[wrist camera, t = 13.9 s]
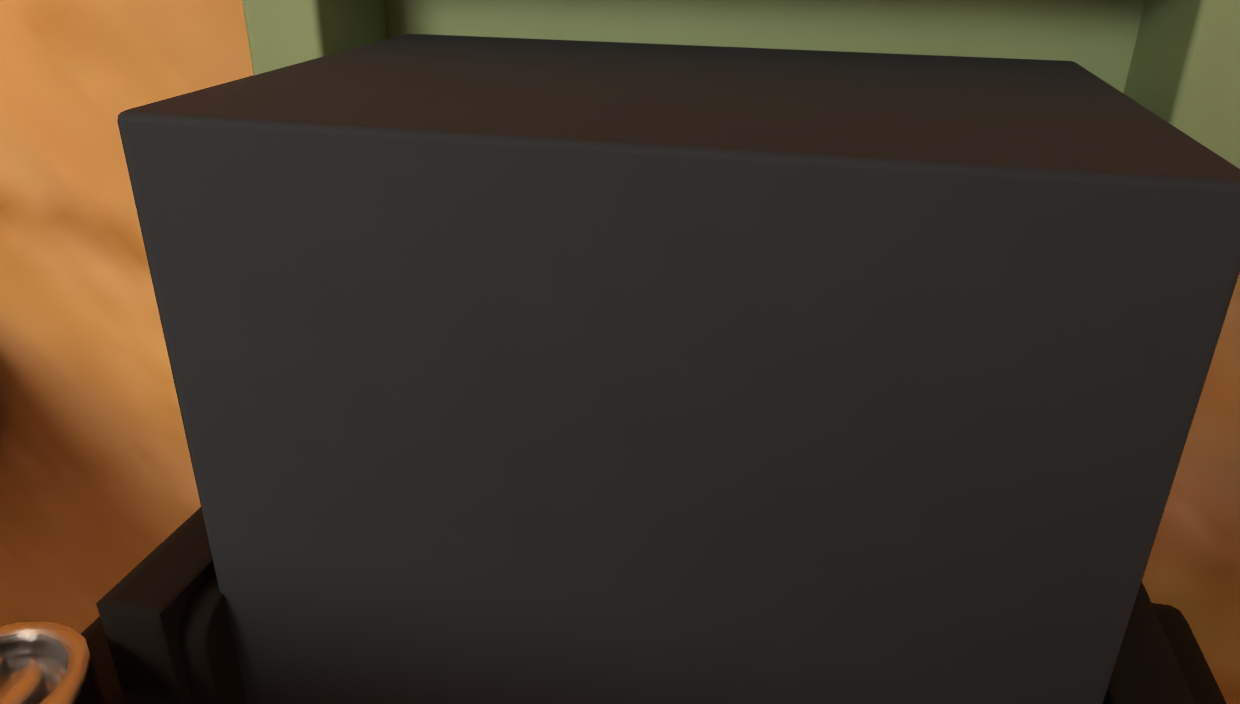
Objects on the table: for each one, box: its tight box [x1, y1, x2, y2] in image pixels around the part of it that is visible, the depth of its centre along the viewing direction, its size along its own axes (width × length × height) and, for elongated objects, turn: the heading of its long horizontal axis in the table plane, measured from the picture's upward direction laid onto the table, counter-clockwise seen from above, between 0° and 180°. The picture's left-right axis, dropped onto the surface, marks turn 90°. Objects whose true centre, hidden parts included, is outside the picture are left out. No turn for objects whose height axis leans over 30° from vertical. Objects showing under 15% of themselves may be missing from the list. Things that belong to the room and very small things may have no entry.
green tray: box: [242, 0, 1240, 169], centre depth 11 cm, size 9×13×2 cm
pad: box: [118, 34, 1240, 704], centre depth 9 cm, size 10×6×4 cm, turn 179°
